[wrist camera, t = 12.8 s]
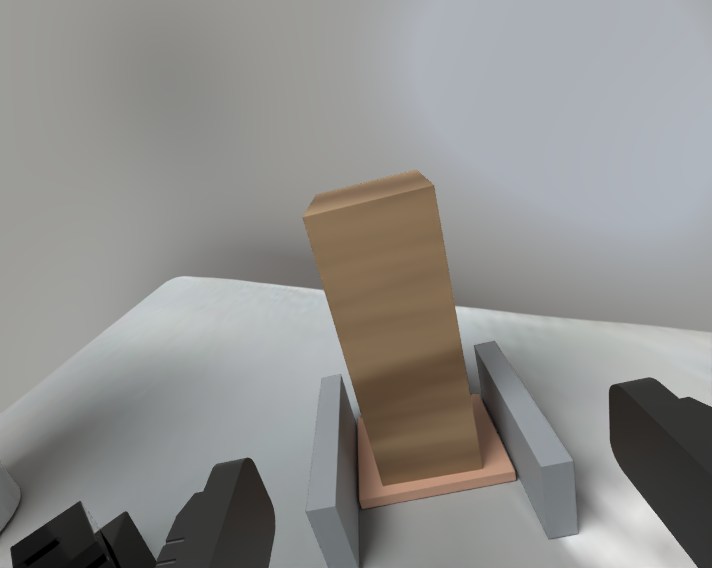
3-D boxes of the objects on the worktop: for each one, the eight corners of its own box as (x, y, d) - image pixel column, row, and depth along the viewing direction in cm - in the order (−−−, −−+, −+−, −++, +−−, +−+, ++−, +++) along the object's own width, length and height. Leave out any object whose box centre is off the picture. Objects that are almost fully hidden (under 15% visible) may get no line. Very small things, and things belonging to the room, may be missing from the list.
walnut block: (482, 468, 20) (434, 185, 15) (382, 486, 20) (302, 217, 15) (459, 402, 25) (416, 169, 19) (378, 418, 25) (316, 194, 20)
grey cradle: (578, 533, 17) (573, 461, 15) (332, 577, 17) (305, 511, 16) (502, 396, 25) (494, 340, 24) (338, 429, 26) (321, 378, 24)
